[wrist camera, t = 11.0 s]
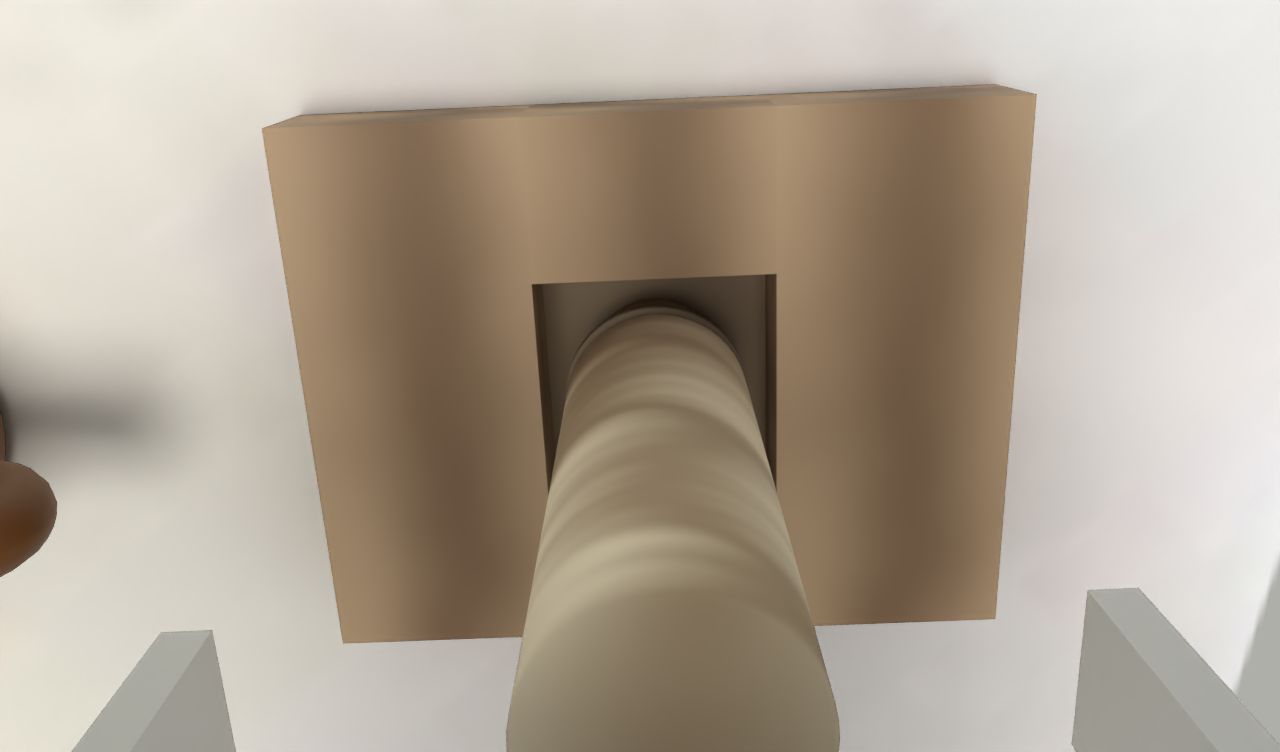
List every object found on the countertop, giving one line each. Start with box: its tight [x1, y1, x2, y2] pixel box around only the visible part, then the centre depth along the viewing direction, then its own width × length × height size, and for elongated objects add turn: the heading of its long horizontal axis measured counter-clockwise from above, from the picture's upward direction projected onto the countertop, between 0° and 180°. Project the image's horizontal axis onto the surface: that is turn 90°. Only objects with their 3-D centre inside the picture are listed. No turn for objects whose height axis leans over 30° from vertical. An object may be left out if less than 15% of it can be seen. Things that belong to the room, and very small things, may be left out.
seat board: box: [262, 84, 1037, 643], centre depth 29 cm, size 18×14×3 cm
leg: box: [506, 299, 840, 752], centre depth 22 cm, size 5×5×16 cm
